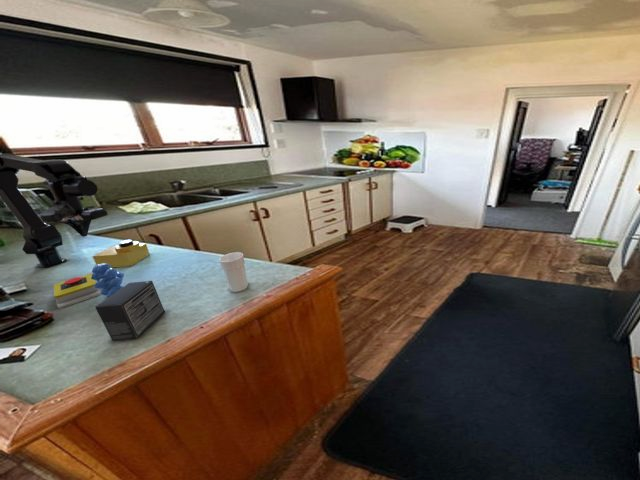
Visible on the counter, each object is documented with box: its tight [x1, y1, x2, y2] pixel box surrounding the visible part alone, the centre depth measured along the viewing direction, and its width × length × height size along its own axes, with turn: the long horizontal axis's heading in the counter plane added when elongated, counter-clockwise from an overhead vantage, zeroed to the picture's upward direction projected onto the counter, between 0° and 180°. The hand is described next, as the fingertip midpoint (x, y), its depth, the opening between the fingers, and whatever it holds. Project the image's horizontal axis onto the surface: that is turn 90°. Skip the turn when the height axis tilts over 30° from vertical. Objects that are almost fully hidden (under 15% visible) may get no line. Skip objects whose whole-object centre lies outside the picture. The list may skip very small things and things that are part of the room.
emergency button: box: [53, 273, 102, 309], centre depth 87 cm, size 9×4×15 cm
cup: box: [218, 251, 249, 293], centre depth 85 cm, size 7×7×11 cm
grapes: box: [91, 264, 125, 298], centre depth 83 cm, size 12×7×12 cm, turn 71°
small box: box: [94, 280, 166, 342], centre depth 70 cm, size 11×6×10 cm, turn 5°
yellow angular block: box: [92, 240, 151, 268], centre depth 107 cm, size 12×10×7 cm
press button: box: [118, 239, 134, 247], centre depth 106 cm, size 4×4×2 cm
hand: (84, 236), depth 102 cm, fingers closed
